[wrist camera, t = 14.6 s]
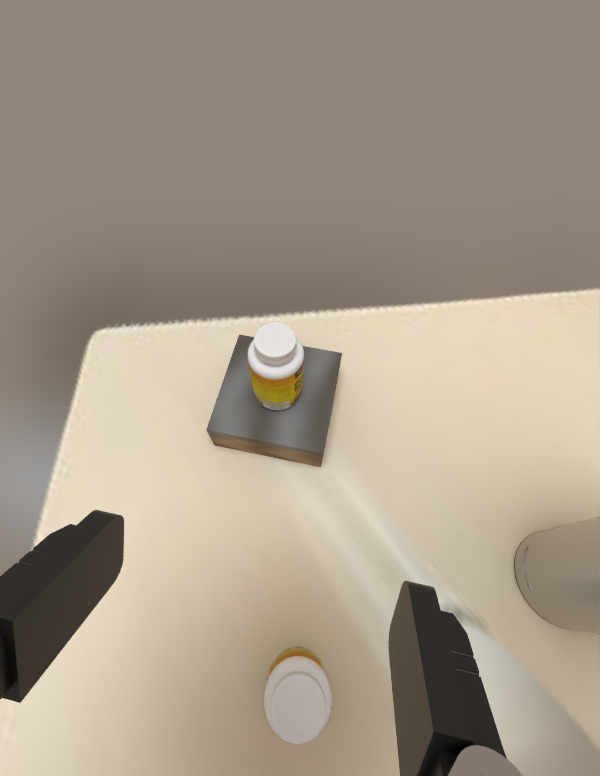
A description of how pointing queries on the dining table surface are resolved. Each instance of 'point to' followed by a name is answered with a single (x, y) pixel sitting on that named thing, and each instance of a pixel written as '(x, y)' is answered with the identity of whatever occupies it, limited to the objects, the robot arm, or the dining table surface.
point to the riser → (276, 427)
